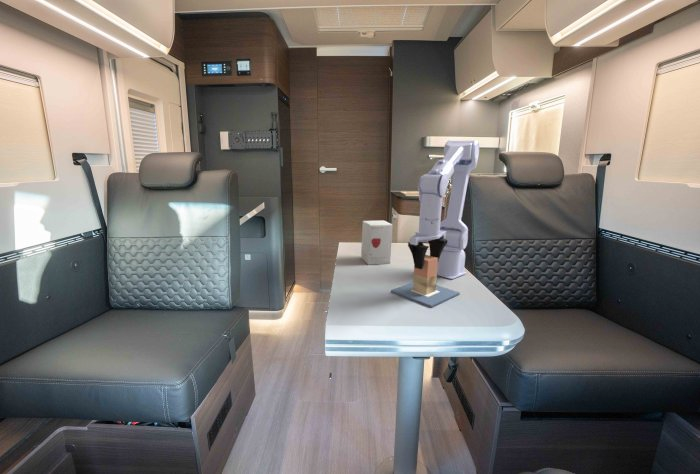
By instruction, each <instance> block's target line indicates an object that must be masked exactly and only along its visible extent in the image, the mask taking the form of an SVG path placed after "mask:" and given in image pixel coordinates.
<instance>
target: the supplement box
mask: <svg viewBox="0 0 700 474" xmlns="http://www.w3.org/2000/svg"><path fill="white" fill-rule="evenodd" d="M361 230H362V232H361V253H360V259H361V260H363V261H364V262H365V263H366V264H367V265H368V266H370V265H371V266H372V265H386V264H387V265H388V264H389V265H390V264H391V259H392V258H391V257H392V242H393V241H392V239H393V223H390V222H388V221H386V220H383V219H382V220H362V229H361Z"/></svg>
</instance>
